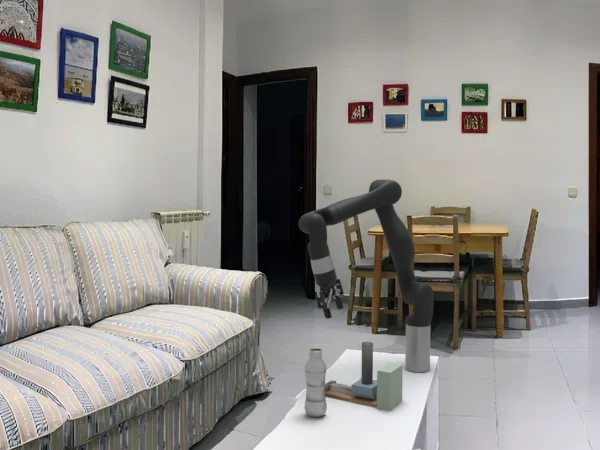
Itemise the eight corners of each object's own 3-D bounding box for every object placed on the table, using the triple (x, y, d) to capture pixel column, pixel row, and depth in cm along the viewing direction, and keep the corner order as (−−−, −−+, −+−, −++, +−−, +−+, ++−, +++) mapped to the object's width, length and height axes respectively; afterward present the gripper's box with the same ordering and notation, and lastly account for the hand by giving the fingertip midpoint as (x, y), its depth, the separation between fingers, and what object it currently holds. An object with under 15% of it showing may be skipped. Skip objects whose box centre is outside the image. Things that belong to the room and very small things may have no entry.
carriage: (362, 388, 186) (362, 339, 185) (381, 392, 182) (382, 342, 181) (351, 396, 179) (352, 344, 178) (371, 400, 175) (372, 347, 175)
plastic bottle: (324, 420, 164) (325, 353, 163) (302, 418, 165) (302, 352, 164) (328, 412, 170) (328, 347, 169) (306, 410, 172) (306, 346, 171)
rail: (334, 387, 192) (334, 379, 192) (388, 398, 182) (388, 389, 182) (321, 395, 185) (321, 386, 184) (376, 407, 174) (376, 398, 174)
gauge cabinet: (387, 398, 182) (387, 362, 182) (402, 401, 180) (402, 364, 179) (374, 407, 174) (375, 370, 173) (390, 411, 171) (390, 372, 171)
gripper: (322, 275, 184) (334, 321, 187) (342, 262, 196) (353, 305, 198) (303, 277, 189) (315, 321, 191) (324, 263, 200) (335, 306, 202)
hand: (334, 313), depth 195 cm, fingers open, 8 cm apart
